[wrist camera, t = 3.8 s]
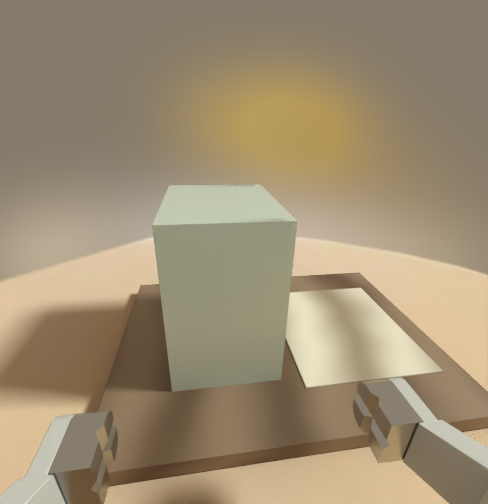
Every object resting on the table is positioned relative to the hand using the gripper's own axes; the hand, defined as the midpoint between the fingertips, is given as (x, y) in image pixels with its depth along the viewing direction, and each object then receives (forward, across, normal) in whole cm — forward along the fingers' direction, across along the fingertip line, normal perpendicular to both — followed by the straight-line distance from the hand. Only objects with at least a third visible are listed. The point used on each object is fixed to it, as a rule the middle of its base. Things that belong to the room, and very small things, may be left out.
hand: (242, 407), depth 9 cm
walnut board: (+10, -4, +6) cm, 12 cm away
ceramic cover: (+10, 0, +6) cm, 11 cm away
